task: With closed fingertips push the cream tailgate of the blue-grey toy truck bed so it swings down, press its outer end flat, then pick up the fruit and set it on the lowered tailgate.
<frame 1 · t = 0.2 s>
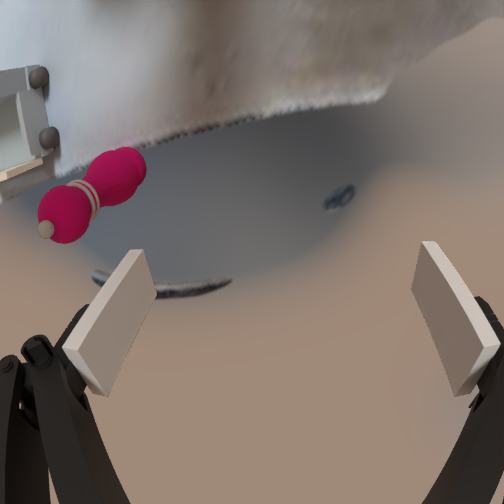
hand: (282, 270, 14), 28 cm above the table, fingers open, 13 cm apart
pepper mill: (128, 167, 42), on the table
truck bed: (14, 121, 38), on the table
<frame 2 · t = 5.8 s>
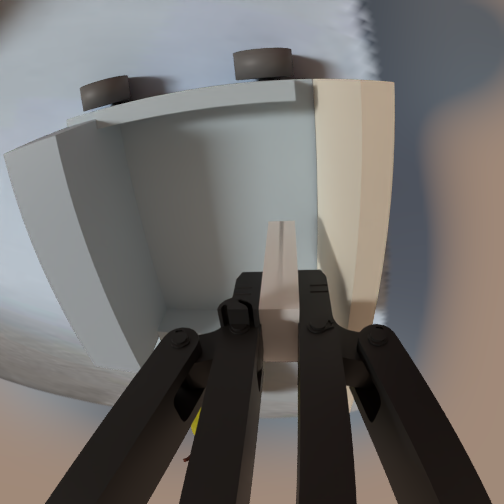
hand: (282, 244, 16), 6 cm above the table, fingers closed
tailgate: (343, 256, 15), point 7 cm above the table, hinge at 4.4°, touching gripper
truck bed: (204, 204, 22), on the table
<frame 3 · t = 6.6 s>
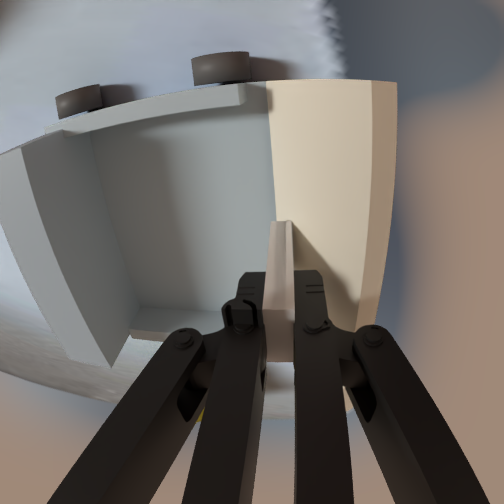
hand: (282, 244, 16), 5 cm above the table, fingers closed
tailgate: (321, 256, 15), point 7 cm above the table, hinge at 26.4°, touching gripper
truck bed: (173, 206, 22), on the table
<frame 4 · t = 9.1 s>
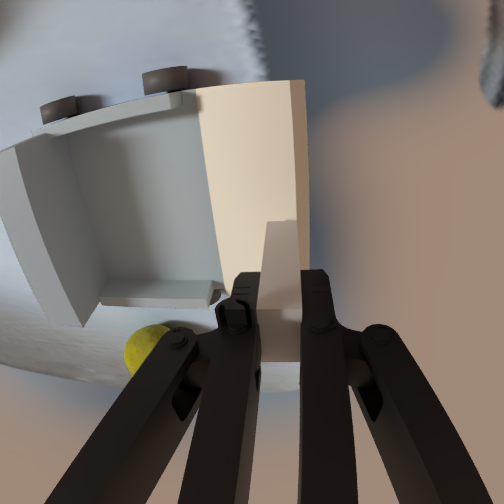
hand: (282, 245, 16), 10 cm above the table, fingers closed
tailgate: (255, 215, 19), point 6 cm above the table, hinge at 45.4°, touching gripper
fruit: (164, 333, 35), on the table
truck bed: (135, 193, 26), on the table
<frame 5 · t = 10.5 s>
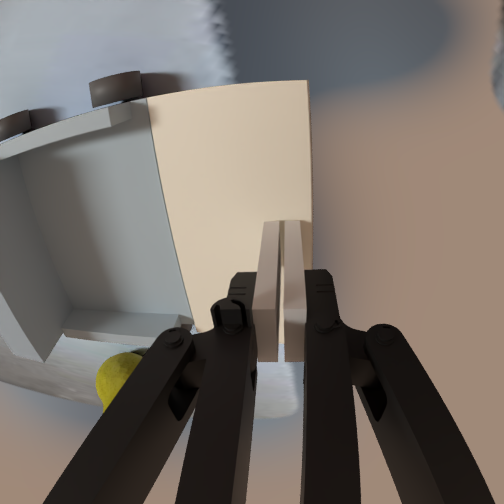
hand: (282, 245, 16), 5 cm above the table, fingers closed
tailgate: (240, 231, 18), point 4 cm above the table, hinge at 80.2°, touching gripper
fruit: (139, 359, 31), on the table
truck bed: (94, 216, 22), on the table
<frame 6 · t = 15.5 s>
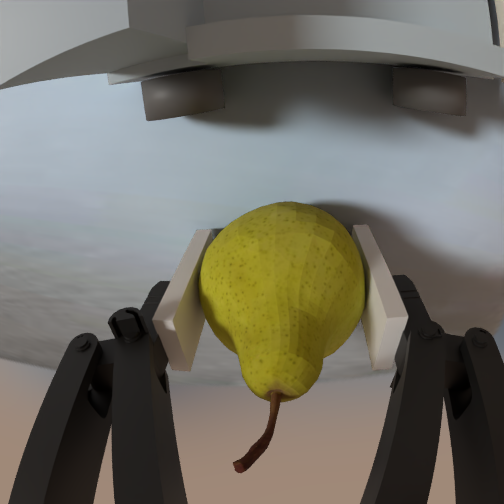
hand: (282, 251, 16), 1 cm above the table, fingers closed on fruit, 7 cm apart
fruit: (283, 243, 16), on the table, touching gripper
when the fingers open (6 cm above the table, at t = 20.2 s): fruit drops 1 cm, resting on tailgate.
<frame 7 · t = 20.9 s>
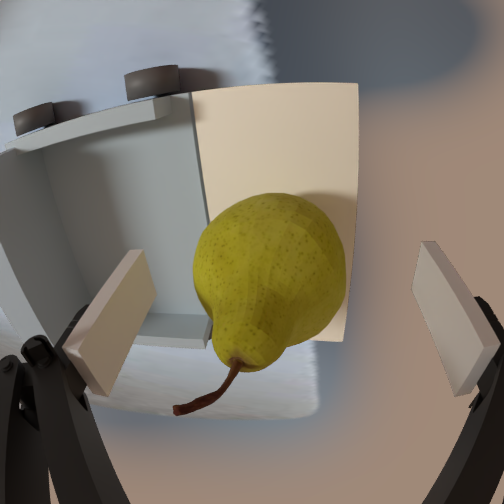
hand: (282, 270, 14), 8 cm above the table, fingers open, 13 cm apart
tailgate: (282, 230, 18), point 4 cm above the table, hinge at 82.4°, touching fruit
fruit: (282, 233, 17), point 4 cm above the table, touching tailgate
truck bed: (121, 214, 22), on the table
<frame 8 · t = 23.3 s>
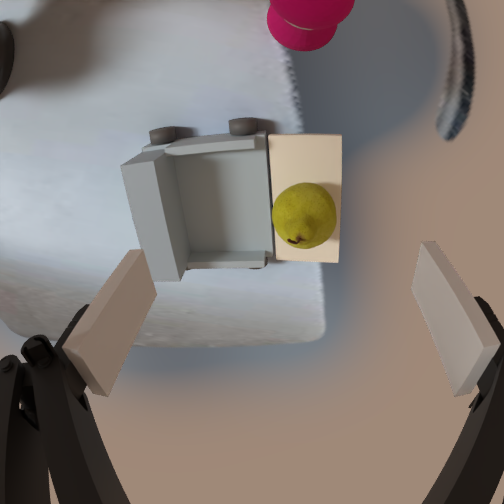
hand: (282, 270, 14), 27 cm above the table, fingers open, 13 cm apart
tailgate: (307, 201, 37), point 4 cm above the table, hinge at 82.4°, touching fruit
fruit: (307, 202, 36), point 4 cm above the table, touching tailgate
pepper mill: (299, 26, 29), on the table
truck bed: (213, 194, 41), on the table
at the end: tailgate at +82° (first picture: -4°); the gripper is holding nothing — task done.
